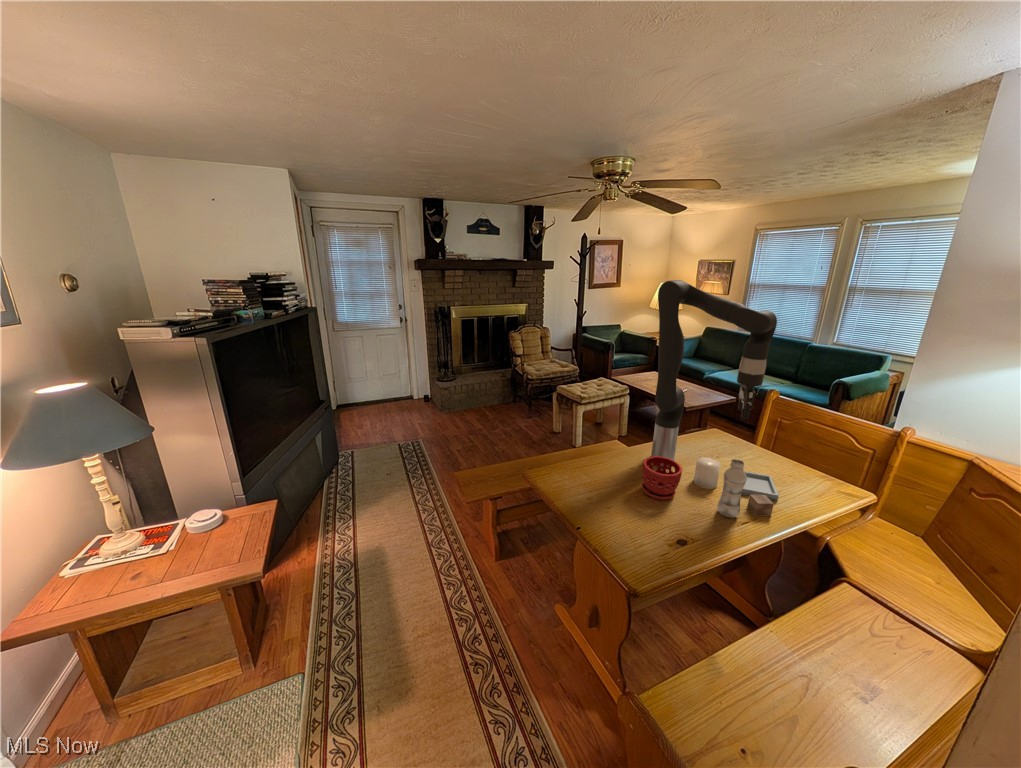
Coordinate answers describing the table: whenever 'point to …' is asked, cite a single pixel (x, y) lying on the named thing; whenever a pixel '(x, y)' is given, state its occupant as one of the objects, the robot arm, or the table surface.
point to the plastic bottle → (732, 489)
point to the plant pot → (660, 477)
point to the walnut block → (760, 505)
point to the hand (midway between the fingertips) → (742, 414)
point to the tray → (760, 486)
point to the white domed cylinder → (706, 473)
